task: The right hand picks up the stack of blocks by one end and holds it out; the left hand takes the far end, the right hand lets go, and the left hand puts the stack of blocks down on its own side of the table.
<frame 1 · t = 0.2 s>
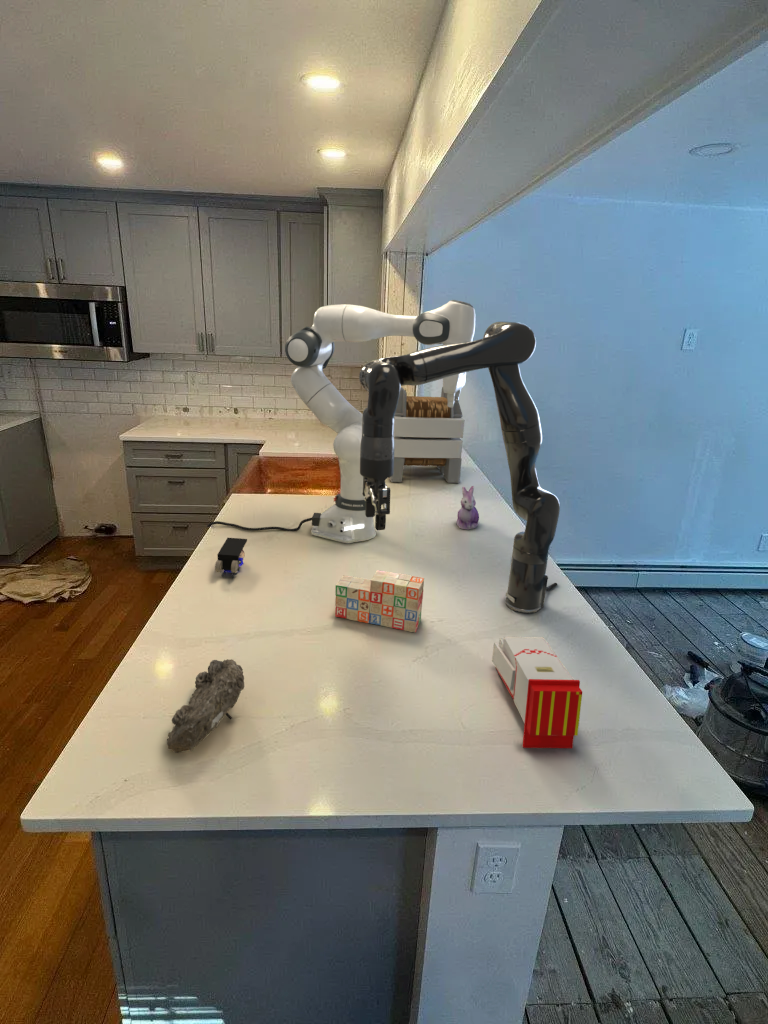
left hand: (453, 404, 174), 48 cm above the counter, tool pointing down, fingers open, 8 cm apart
right hand: (374, 522, 131), 28 cm above the counter, tool pointing down, fingers open, 8 cm apart
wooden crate: (419, 473, 275), on the counter
stack of blocks: (378, 619, 145), on the counter
figurine: (467, 525, 210), on the counter
fossil: (212, 717, 108), on the counter
toy: (527, 700, 117), on the counter
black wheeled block: (232, 569, 168), on the counter
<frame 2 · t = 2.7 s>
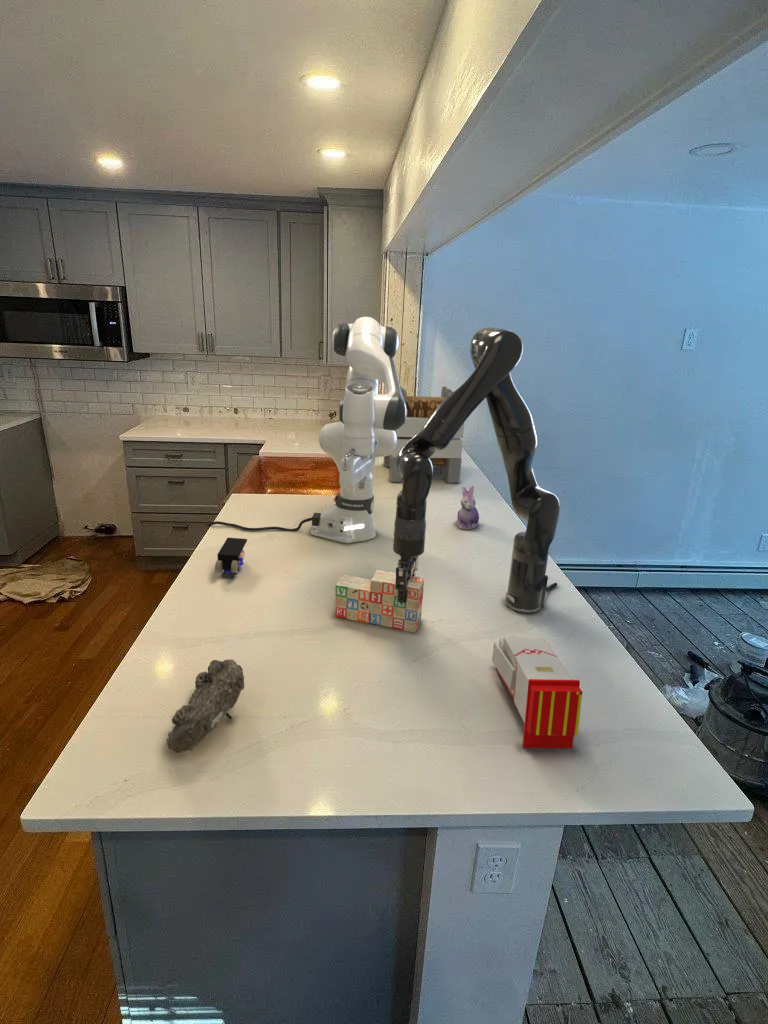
left hand: (356, 494, 159), 25 cm above the counter, tool pointing down, fingers open, 8 cm apart
right hand: (405, 595, 140), 8 cm above the counter, tool pointing down, fingers closed on stack of blocks, 6 cm apart
stack of blocks: (378, 618, 145), on the counter, touching right hand
everything else where it was.
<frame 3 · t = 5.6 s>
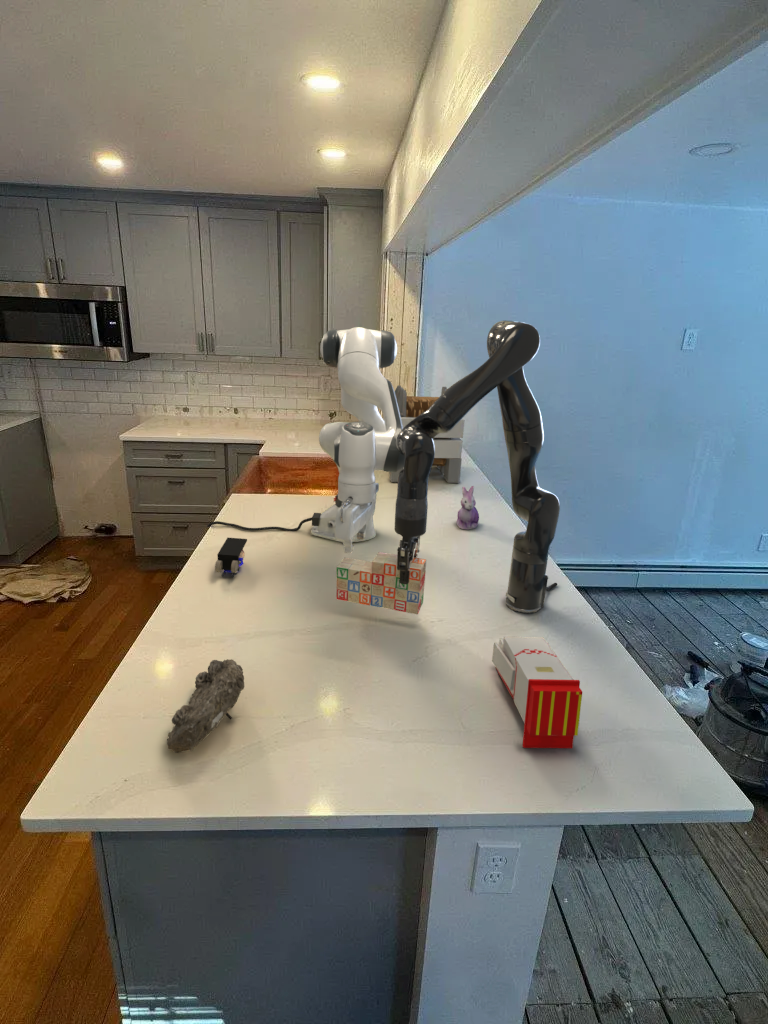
left hand: (355, 545, 140), 19 cm above the counter, tool pointing down, fingers open, 8 cm apart
right hand: (407, 577, 139), 13 cm above the counter, tool pointing down, fingers closed on stack of blocks, 6 cm apart
stack of blocks: (379, 601, 143), point 5 cm above the counter, touching right hand
everything else where it was.
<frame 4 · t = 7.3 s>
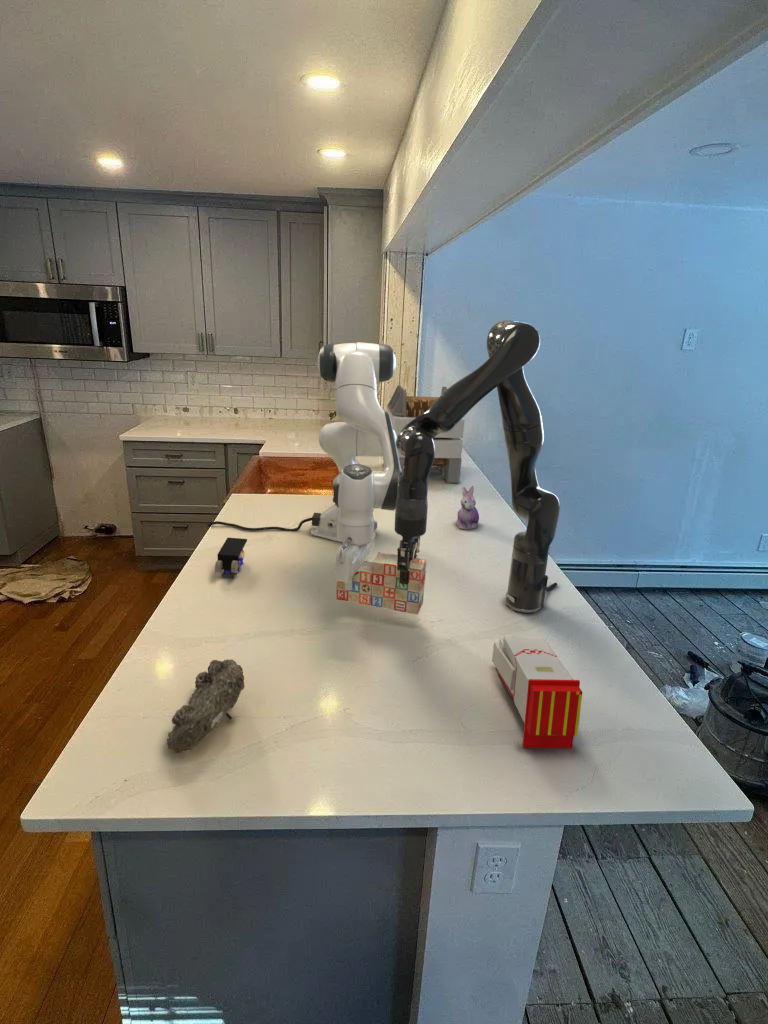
left hand: (354, 582, 143), 9 cm above the counter, tool pointing down, fingers closed on stack of blocks, 6 cm apart
right hand: (407, 577, 139), 13 cm above the counter, tool pointing down, fingers closed on stack of blocks, 6 cm apart
stack of blocks: (379, 601, 143), point 5 cm above the counter, touching left hand, right hand
everything else where it was.
when the right hand's fingers open (13 cm above the counter, at t = 8.5 s): stack of blocks moves 2 cm, held by the left hand.
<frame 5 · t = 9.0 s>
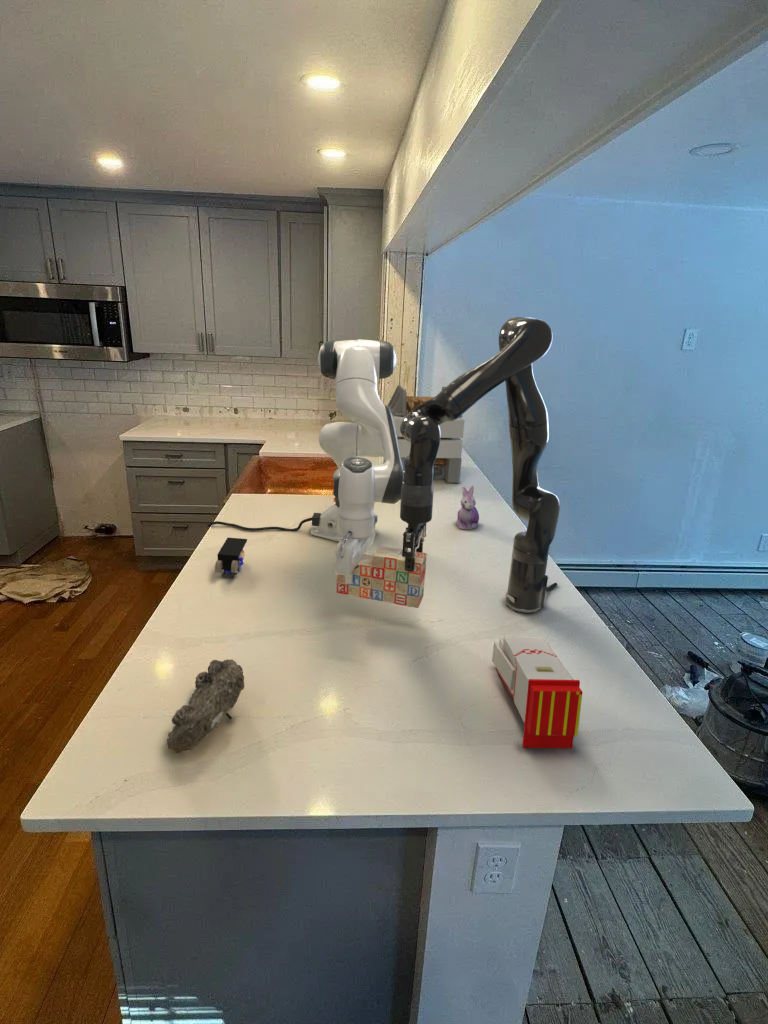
left hand: (354, 575, 143), 11 cm above the counter, tool pointing down, fingers closed on stack of blocks, 6 cm apart
right hand: (413, 563, 137), 17 cm above the counter, tool pointing down, fingers open, 8 cm apart
stack of blocks: (380, 595, 143), point 7 cm above the counter, touching left hand
everything else where it was.
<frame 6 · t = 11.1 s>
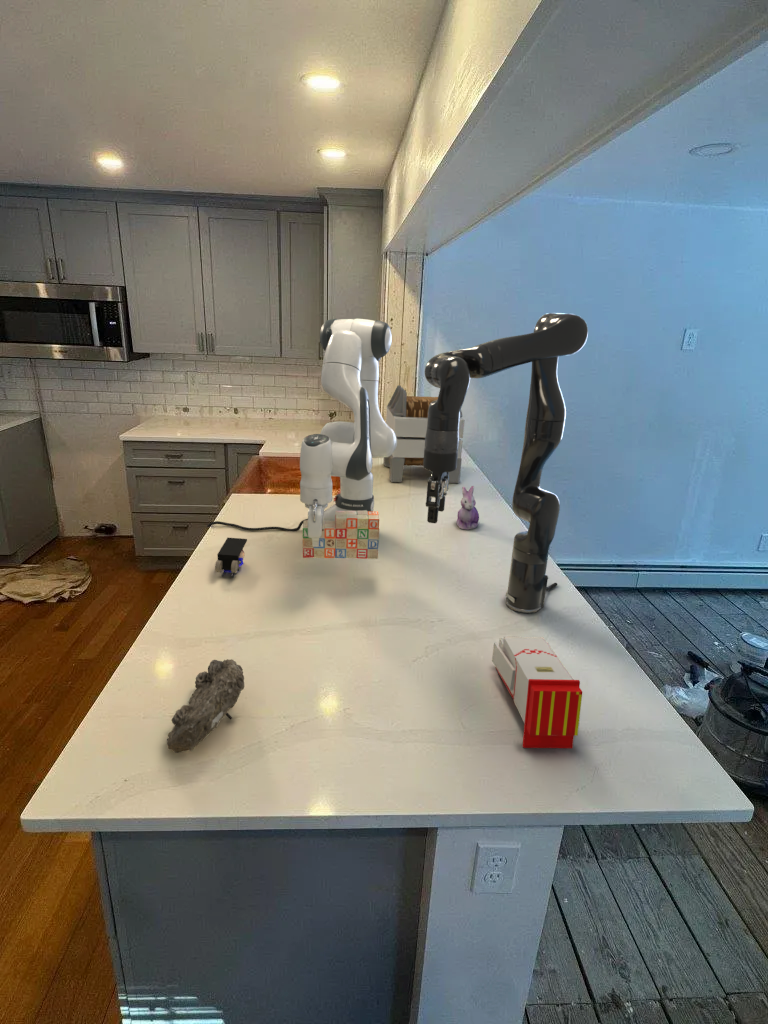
left hand: (316, 540, 161), 12 cm above the counter, tool pointing down, fingers closed on stack of blocks, 6 cm apart
right hand: (435, 516, 131), 30 cm above the counter, tool pointing down, fingers open, 8 cm apart
stack of blocks: (340, 554, 163), point 8 cm above the counter, touching left hand
everything else where it was.
when the left hand's fingers open (5 cm above the counter, at t = 12.7 s): stack of blocks stays where it is, on the counter.
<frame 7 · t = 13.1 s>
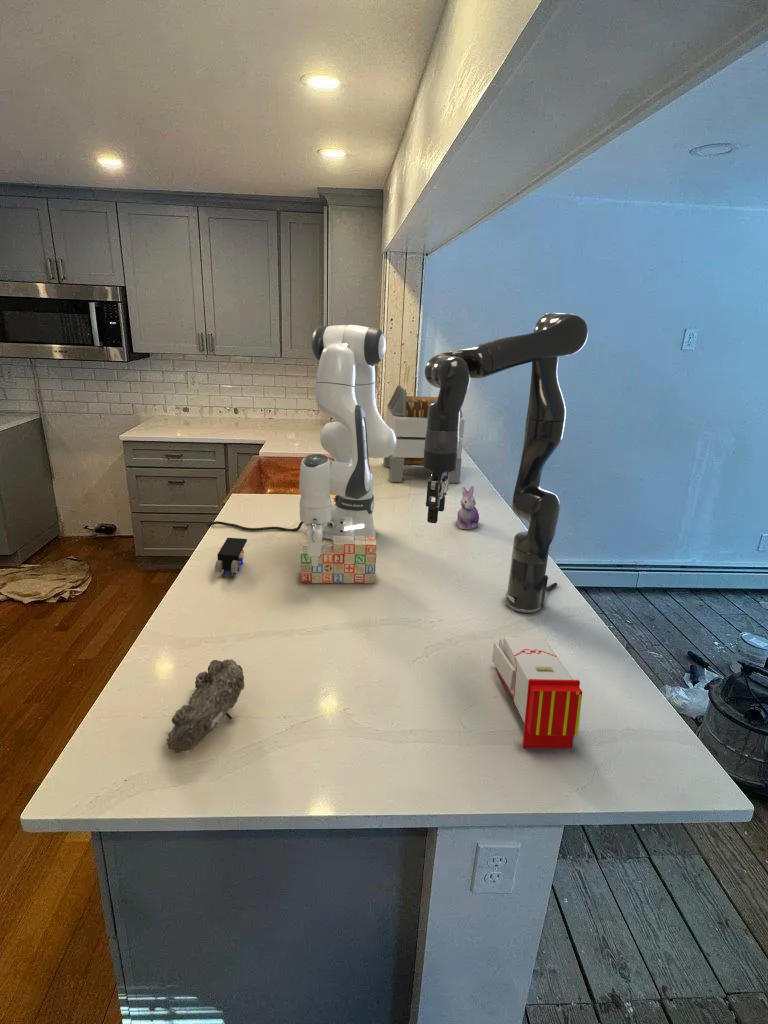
left hand: (315, 557, 163), 6 cm above the counter, tool pointing down, fingers open, 8 cm apart
right hand: (435, 516, 131), 30 cm above the counter, tool pointing down, fingers open, 8 cm apart
stack of blocks: (337, 578, 165), on the counter
everything else where it was.
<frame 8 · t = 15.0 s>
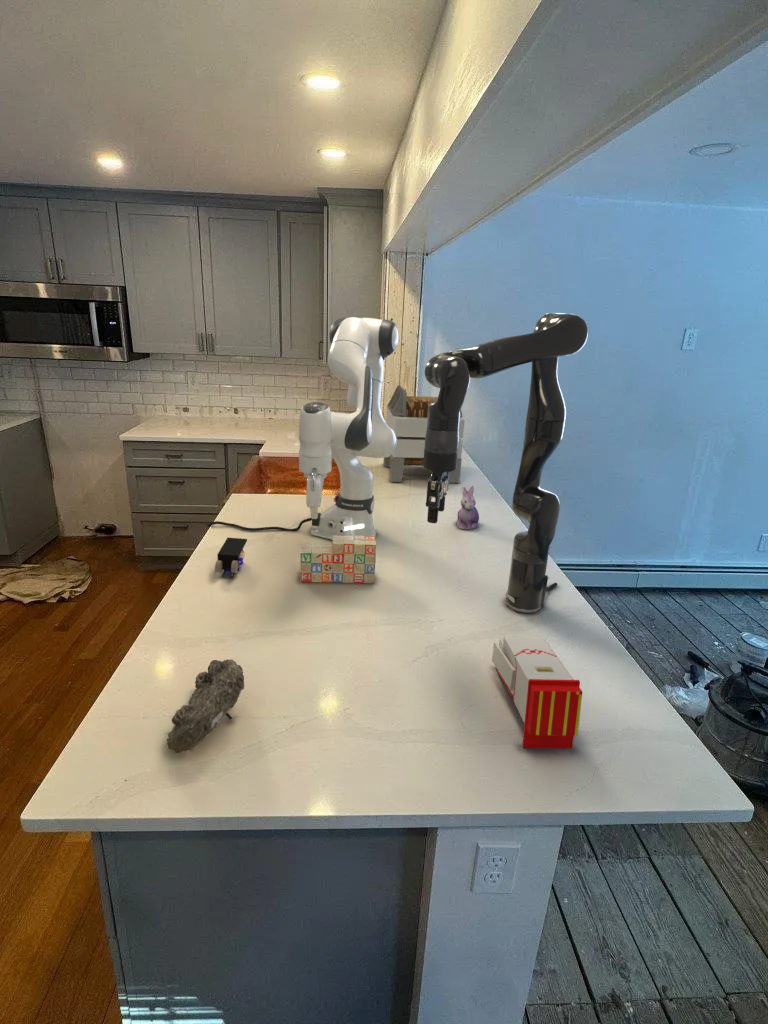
left hand: (315, 512, 158), 20 cm above the counter, tool pointing down, fingers open, 8 cm apart
right hand: (435, 516, 131), 30 cm above the counter, tool pointing down, fingers open, 8 cm apart
nothing on the counter moved.
at the end: stack of blocks inside the target area (6.5 cm from its centre), on the counter; the left hand is holding nothing; the right hand is holding nothing; stack of blocks at rest at the end (0.0 cm/s) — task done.
